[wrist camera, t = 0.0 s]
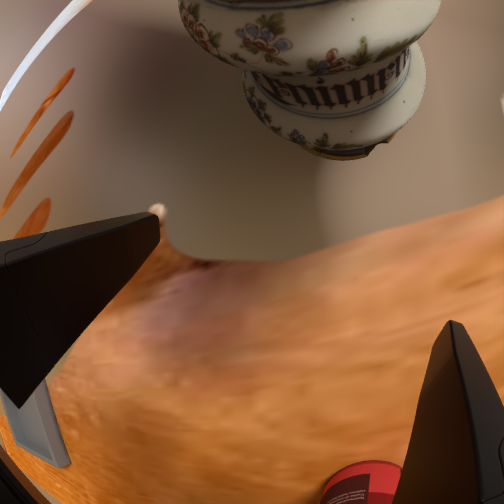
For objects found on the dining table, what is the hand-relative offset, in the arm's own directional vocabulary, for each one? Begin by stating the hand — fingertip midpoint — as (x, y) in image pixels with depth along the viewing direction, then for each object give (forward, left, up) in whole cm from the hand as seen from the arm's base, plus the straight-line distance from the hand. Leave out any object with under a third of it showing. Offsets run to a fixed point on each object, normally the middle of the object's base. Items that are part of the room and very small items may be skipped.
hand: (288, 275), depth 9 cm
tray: (-15, +45, -15) cm, 50 cm away
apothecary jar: (+13, -3, -15) cm, 20 cm away
